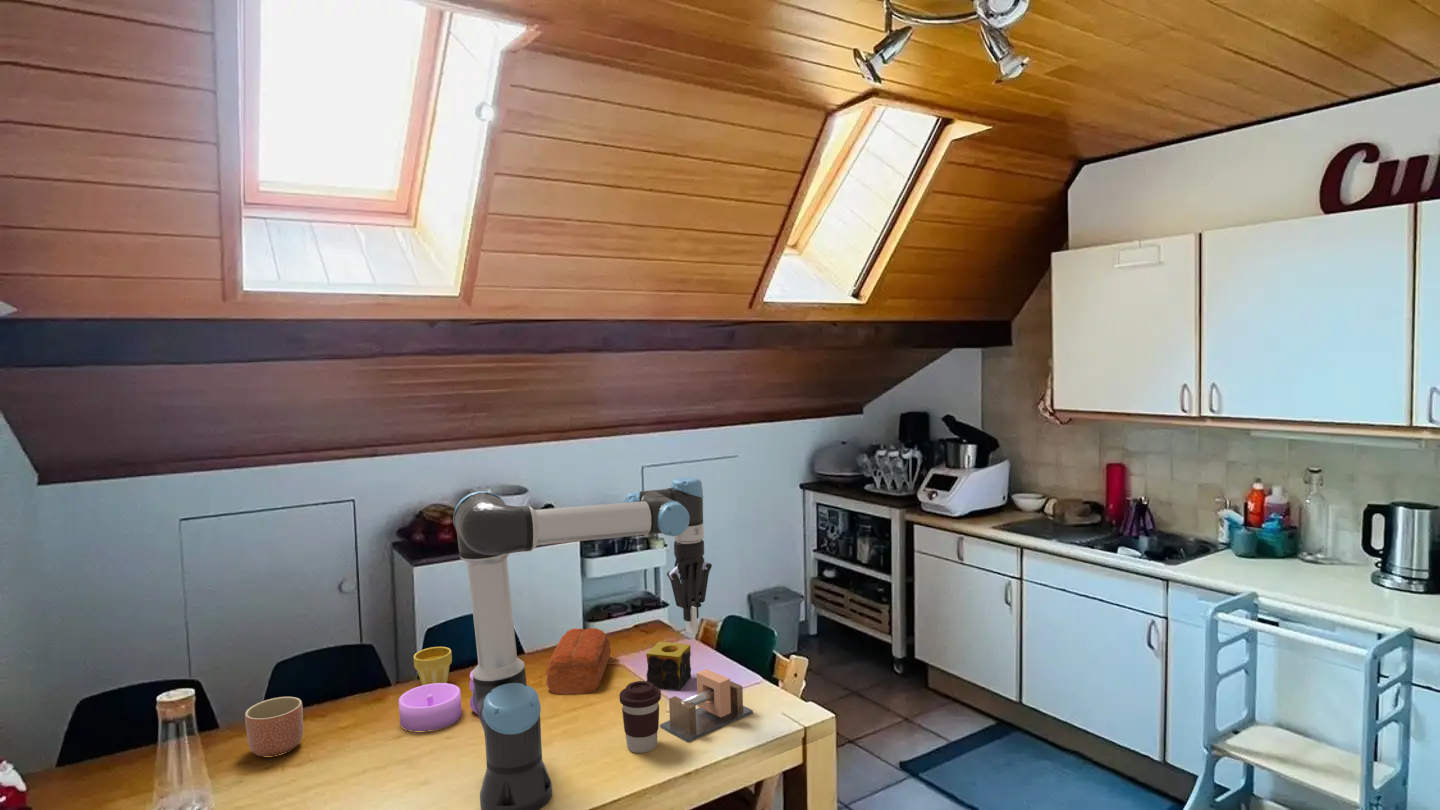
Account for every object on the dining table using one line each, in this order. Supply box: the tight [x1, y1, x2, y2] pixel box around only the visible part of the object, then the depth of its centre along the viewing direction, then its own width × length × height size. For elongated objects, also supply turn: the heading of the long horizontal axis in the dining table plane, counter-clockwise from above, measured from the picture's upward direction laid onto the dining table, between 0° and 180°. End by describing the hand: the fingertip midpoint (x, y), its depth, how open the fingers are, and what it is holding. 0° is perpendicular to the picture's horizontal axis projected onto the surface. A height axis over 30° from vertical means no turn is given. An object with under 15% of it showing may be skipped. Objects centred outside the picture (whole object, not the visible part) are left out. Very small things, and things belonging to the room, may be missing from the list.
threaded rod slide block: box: [659, 680, 754, 743], centre depth 213 cm, size 22×11×8 cm, turn 132°
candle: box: [645, 641, 692, 692], centre depth 237 cm, size 10×10×10 cm
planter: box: [244, 696, 304, 757], centre depth 203 cm, size 12×12×11 cm
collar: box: [696, 668, 731, 717], centre depth 214 cm, size 4×9×9 cm, turn 42°
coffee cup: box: [618, 680, 662, 754], centre depth 200 cm, size 10×10×15 cm
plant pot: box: [413, 646, 453, 686], centre depth 239 cm, size 10×10×10 cm
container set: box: [398, 670, 478, 732], centre depth 219 cm, size 25×15×13 cm, turn 106°
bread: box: [545, 627, 611, 695], centre depth 244 cm, size 16×27×11 cm, turn 179°
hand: (691, 632), depth 208 cm, fingers closed
